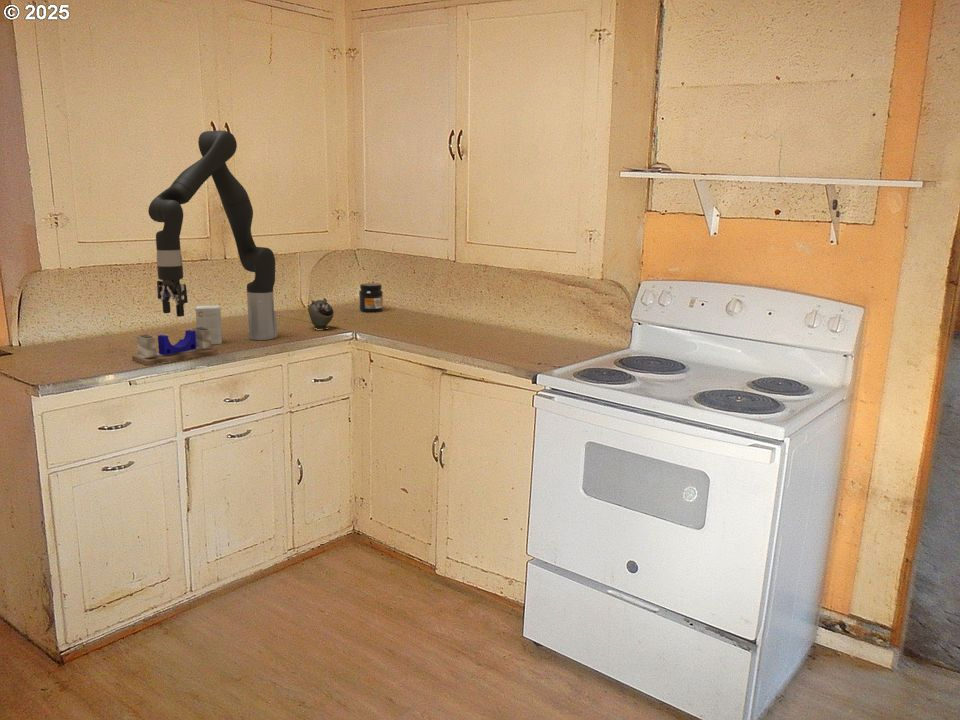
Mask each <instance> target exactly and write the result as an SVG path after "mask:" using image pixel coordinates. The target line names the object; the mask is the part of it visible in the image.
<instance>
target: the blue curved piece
mask: <svg viewBox="0 0 960 720" xmlns="http://www.w3.org/2000/svg"><path fill="white" fill-rule="evenodd" d="M157 344H158V345H157V346H158V352H159V354H162V355H169V354H174V353H179V352H183V351H188V350H193V349H196V333H195V331H193V329H192V330H191V329H187V330H185V334H184V338H181V339H179V341H177V343H174V344H172V343H171V342H170V339H169V336H168V335H165V334H159V335H157Z"/></svg>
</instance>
